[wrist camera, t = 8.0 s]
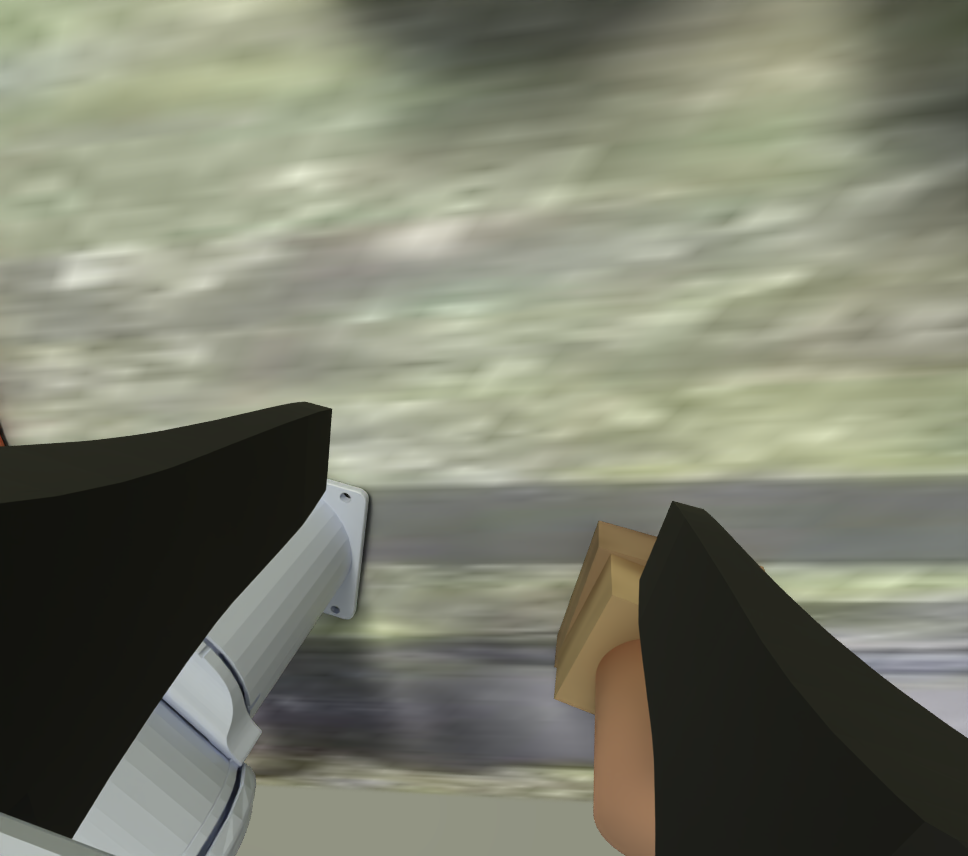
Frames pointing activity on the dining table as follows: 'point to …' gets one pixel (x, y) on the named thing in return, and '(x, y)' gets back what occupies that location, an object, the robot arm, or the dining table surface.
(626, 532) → the tan square slab
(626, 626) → the oak top block
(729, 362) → the dining table surface
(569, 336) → the dining table surface
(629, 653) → the terracotta cylinder
